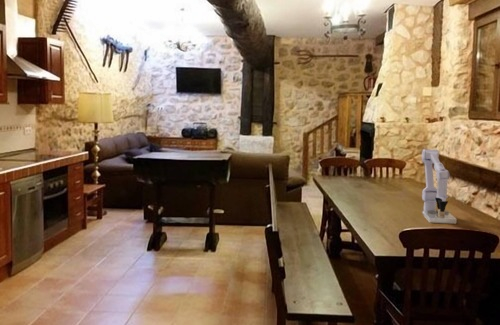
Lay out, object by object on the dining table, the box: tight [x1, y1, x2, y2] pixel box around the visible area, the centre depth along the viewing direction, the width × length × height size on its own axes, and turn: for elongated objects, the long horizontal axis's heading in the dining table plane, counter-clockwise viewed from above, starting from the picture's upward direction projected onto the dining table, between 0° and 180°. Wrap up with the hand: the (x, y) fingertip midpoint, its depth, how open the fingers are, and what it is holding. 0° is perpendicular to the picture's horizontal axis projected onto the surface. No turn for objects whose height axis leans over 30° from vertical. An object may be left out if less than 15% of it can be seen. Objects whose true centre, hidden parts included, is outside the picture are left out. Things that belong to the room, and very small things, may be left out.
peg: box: [437, 208, 446, 217], centre depth 310 cm, size 3×3×7 cm
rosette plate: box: [423, 209, 458, 225], centre depth 312 cm, size 18×16×5 cm
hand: (440, 210), depth 309 cm, fingers open, 7 cm apart
